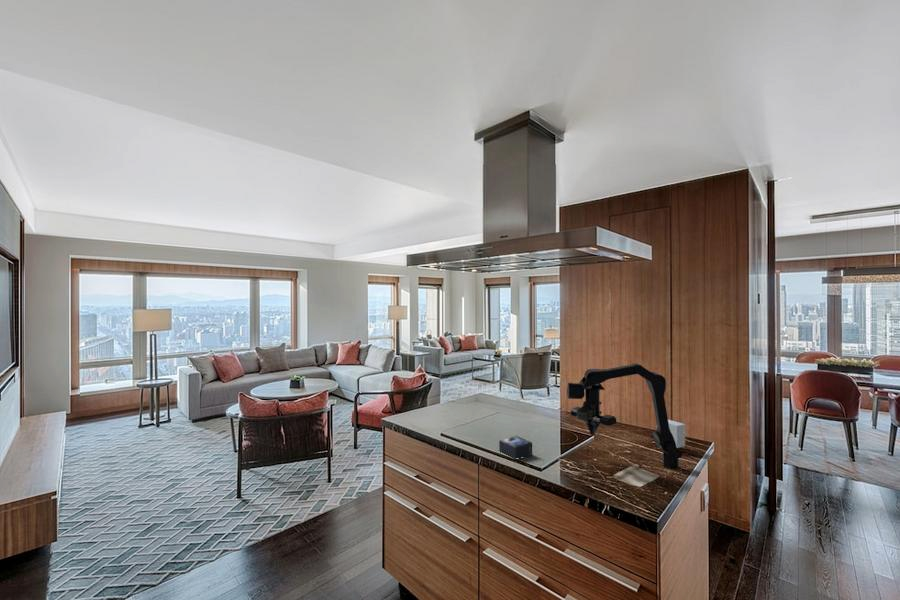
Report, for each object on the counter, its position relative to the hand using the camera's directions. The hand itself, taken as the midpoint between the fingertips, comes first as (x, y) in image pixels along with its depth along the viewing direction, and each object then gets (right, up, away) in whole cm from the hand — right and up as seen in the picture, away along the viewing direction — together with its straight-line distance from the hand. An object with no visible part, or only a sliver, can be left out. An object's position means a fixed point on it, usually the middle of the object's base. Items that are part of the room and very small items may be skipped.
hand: (592, 435), depth 161 cm
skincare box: (+44, -11, +19) cm, 49 cm away
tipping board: (+11, -11, -15) cm, 22 cm away
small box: (-27, -8, +9) cm, 30 cm away
